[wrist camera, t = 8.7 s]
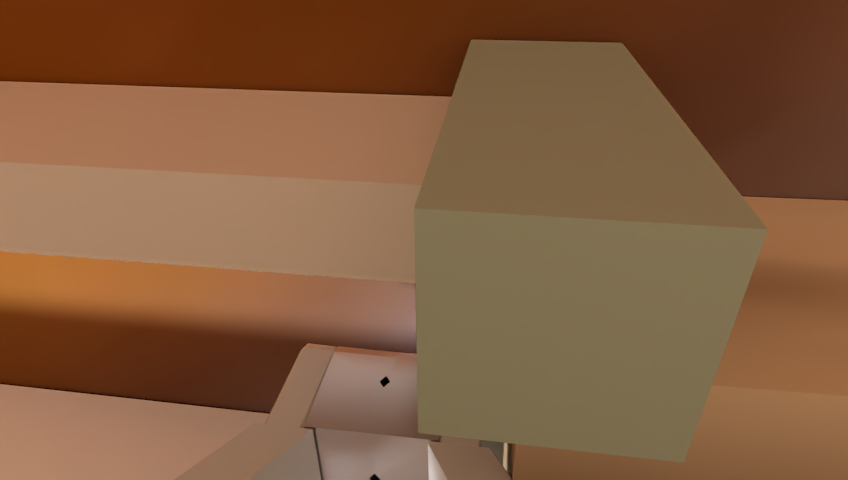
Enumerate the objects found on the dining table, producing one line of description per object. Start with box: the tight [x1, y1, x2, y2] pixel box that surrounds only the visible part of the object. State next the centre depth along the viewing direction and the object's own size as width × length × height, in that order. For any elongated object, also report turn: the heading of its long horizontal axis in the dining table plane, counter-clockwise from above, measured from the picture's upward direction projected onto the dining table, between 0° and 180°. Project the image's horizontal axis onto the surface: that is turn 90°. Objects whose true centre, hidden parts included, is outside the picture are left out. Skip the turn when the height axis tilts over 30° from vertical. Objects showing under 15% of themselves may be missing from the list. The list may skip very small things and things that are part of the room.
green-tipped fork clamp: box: [0, 39, 768, 480], centre depth 9 cm, size 10×16×5 cm, turn 90°
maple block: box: [503, 196, 848, 480], centre depth 8 cm, size 5×8×4 cm, turn 92°
